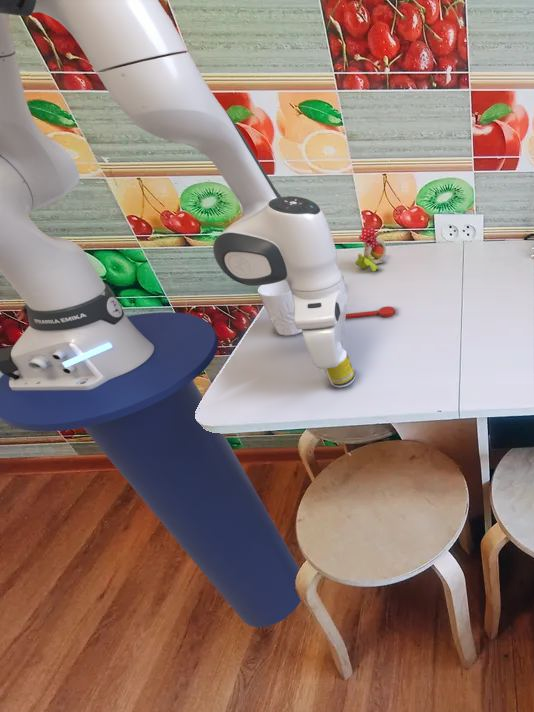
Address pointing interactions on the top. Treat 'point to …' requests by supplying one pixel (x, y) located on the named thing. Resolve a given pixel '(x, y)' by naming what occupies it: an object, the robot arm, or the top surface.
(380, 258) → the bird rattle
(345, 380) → the supplement bottle
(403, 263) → the top surface
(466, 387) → the top surface
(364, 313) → the spoon
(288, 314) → the white cup
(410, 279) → the top surface
